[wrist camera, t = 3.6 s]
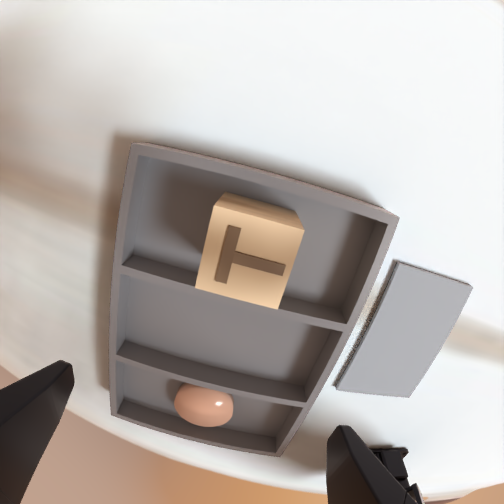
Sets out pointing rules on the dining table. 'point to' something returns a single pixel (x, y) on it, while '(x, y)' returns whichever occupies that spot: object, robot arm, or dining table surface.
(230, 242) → the letter cube
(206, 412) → the peach egg shape
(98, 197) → the dining table surface
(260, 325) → the organizer tray
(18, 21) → the dining table surface
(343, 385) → the mat
